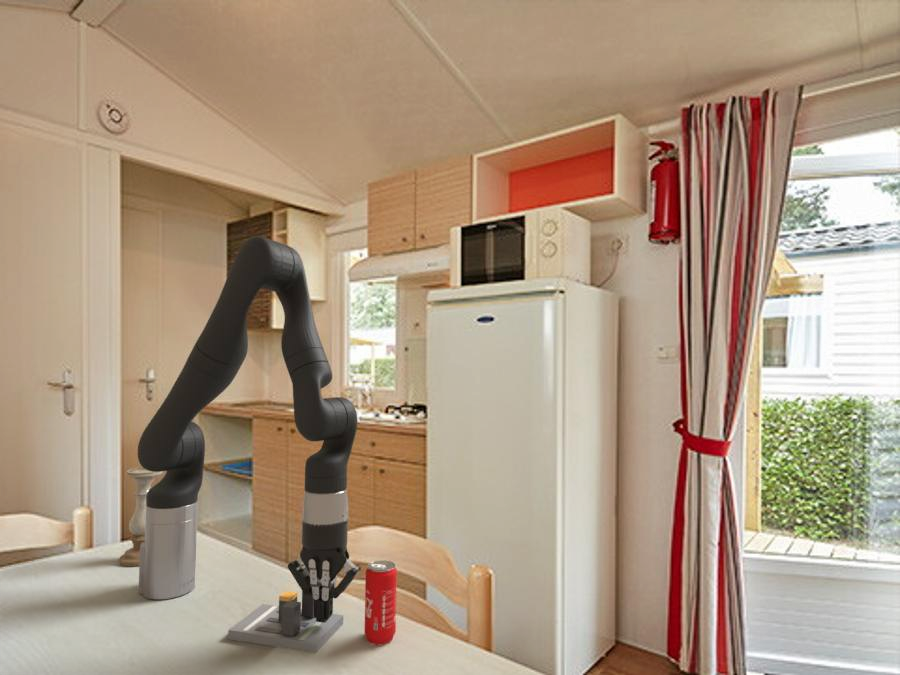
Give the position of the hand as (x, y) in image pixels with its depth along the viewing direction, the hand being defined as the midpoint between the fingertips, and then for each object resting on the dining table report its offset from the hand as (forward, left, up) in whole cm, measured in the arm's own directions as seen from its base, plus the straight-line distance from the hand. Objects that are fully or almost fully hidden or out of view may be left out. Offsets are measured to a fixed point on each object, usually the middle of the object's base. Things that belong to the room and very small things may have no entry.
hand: (323, 620), depth 92 cm
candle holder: (-56, +20, -3) cm, 59 cm away
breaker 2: (-4, -3, -1) cm, 5 cm away
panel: (-7, 0, -3) cm, 7 cm away
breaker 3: (-4, +3, -1) cm, 5 cm away
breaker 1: (-7, 0, -1) cm, 7 cm away
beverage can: (+9, +2, -3) cm, 10 cm away
